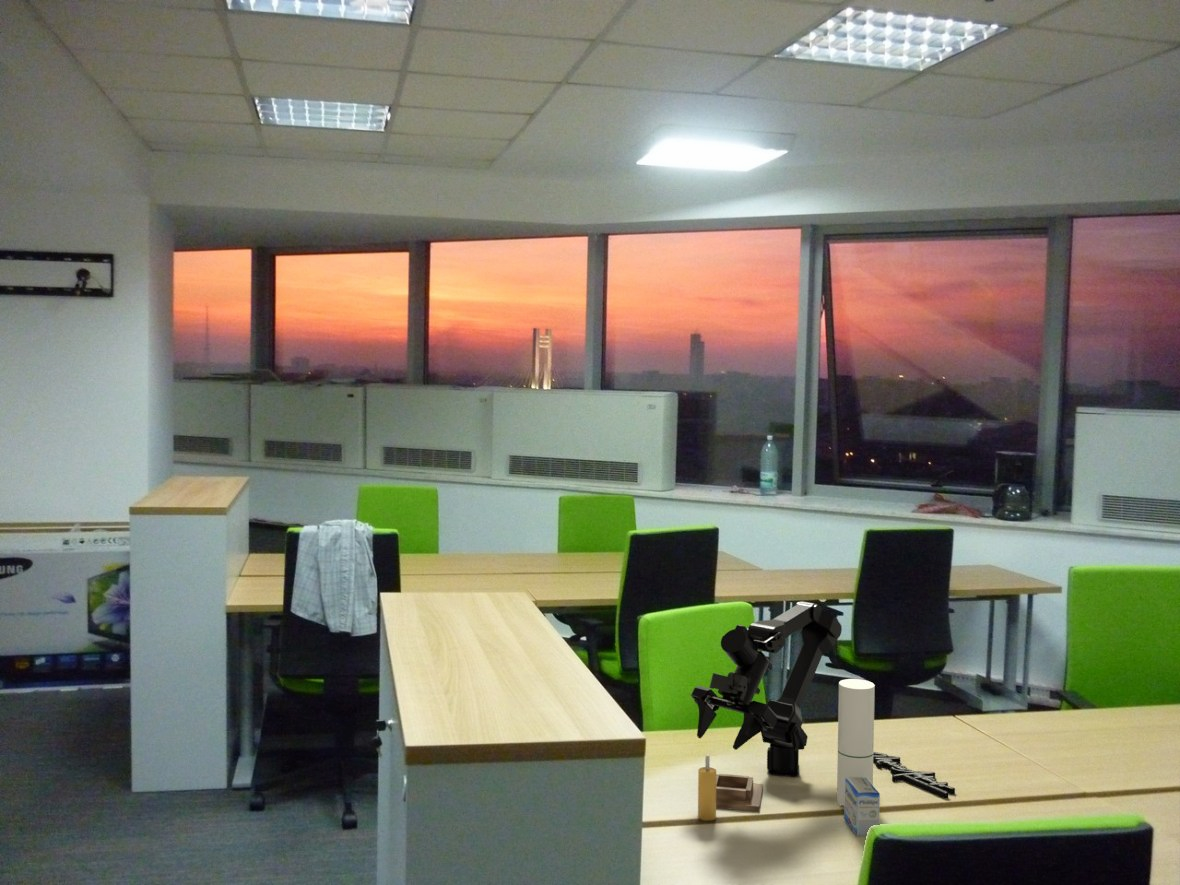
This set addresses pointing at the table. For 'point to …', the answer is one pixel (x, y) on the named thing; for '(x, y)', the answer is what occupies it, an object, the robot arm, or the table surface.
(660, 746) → the table surface
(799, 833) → the table surface
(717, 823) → the table surface
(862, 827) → the medicine box
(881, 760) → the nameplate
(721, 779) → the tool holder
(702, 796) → the yellow cylindrical piece
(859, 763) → the cylindrical container
